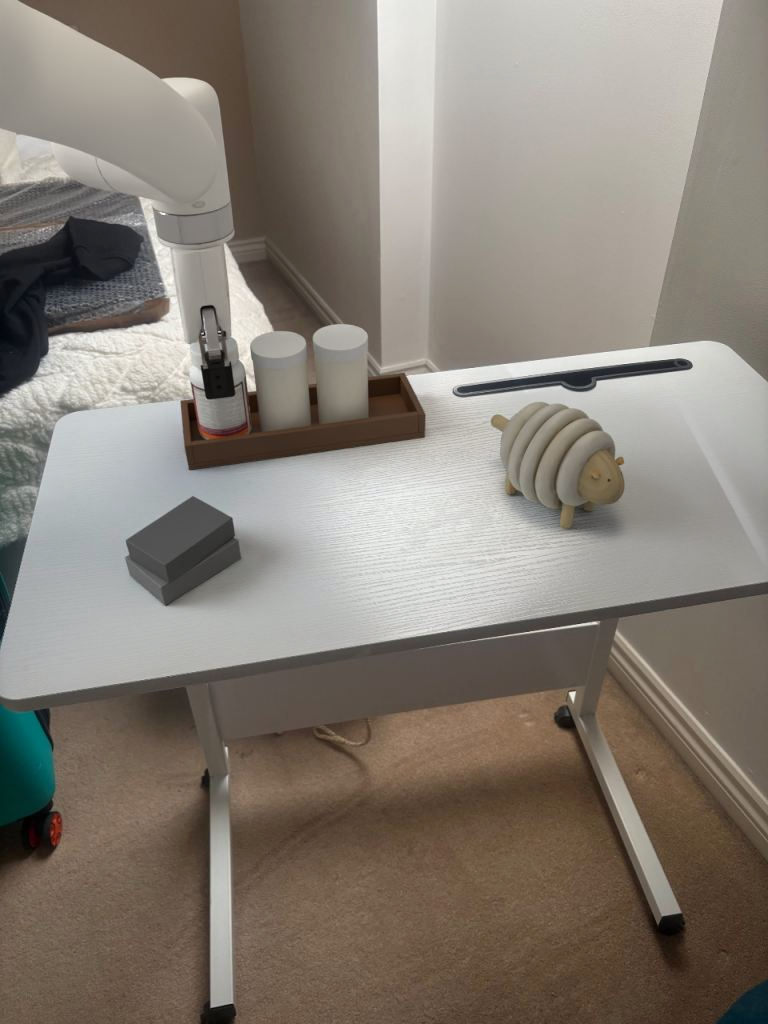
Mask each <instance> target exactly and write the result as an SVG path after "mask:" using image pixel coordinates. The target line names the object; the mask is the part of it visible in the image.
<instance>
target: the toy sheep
mask: <svg viewBox="0 0 768 1024" xmlns="http://www.w3.org/2000/svg"><path fill="white" fill-rule="evenodd" d="M490 425H491V426H492V428H495V429H496V430H498V431H500V432H502V433H501V437H500V442H499V443H500V447H499V458H500V463H501V464H502V466H503V468H504V469H505V470H506V477H505V484H504V493H506V494H507V495H509V496H510V495H511V496H512V495H515V494H516V493H517V491H518V492H520V493H522V495H523V496H524V498H525V499H526V500H528V501H529V502H531V503H534V504H541V505H543V506H544V507H546V508H548V509H553V510H554V509H555V510H556V509H557V510H558V509H561V510H560V511H561V512H560V516H559V517H560V519H559V526H560V527H561V528H562V529H564V530H566V529H570V528H572V526H573V521H574V515H575V510H576V507H578V506H582V509H583V510H584V511H586V512H593V510H594V509H595V507H596V505H597V504H598V505H603V506H604V505H606V506H607V505H612V504H615V503H617V502H618V501H619V500H620V499H621V498H622V496H623V495H624V491H625V478H624V474H623V472H622V470H621V467H620V466H622V465H624V463H625V459H624V457H623V456H618V457H617V458H616V444H615V441H614V439H613V437H612V436H611V435H610V434H609V433H608V432H606V431H604V429H603V427H602V426H601V424H600V422H598V421H597V420H595V419H593V418H590V417H589V416H588V414H587V413H586V412H585V411H583V410H581V409H579V408H571V407H568V406H567V405H565V404H563V403H551V404H549V403H547V402H545V401H535V402H532V403H529V404H527V405H525V406H524V407H522V408H521V409H519V411H518V412H517V413H515V414H514V415H513V416H511V418H510V419H509V418H507V417H505V416H503V415H502V414H495V415H493V416H492V417H491V418H490Z"/></svg>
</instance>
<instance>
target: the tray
mask: <svg viewBox="0 0 768 1024" xmlns="http://www.w3.org/2000/svg"><path fill="white" fill-rule="evenodd" d="M308 387H309V400H310V414H311V426H304V427H296V428H289V429H281V430H274V431H266V432H261V427H260V418H259V410H258V402H257V393H256V390H254V391H248V398H249V406H250V414H251V422H252V428H251V431H250V433H249V434H244V435H236V436H229V437H222V438H214V439H207V440H205V439H203V438H202V436H201V435H200V432H199V428H198V423H197V416H196V411H195V405H194V399H193V398H189V399H182V400H180V402H179V403H180V412H181V423H182V424H181V425H182V434H183V446H184V452H185V457H186V463H187V469H188V470H189V471H191V470H192V471H193V470H197V469H198V470H199V469H200V470H201V469H204V468H213V467H220V466H221V467H222V466H228V465H236V464H240V463H241V464H242V463H251V462H255V461H265V460H271V459H277V458H284V457H285V458H287V457H291V456H301V455H307V454H314V453H321V452H327V451H334V450H341V449H350V448H357V447H364V446H370V445H377V444H378V445H379V444H385V443H393V442H399V441H407V440H414V439H415V440H416V439H422V438H425V436H426V412H425V410H424V408H423V406H422V404H421V402H420V401H419V398H418V396H417V394H416V392H415V390H414V388H413V387H412V384H411V383H410V381H409V378H408V377H407V375H406V373H405V372H397V373H390V374H381V375H375V376H368V412H369V418H364V419H356V420H349V421H341V422H334V423H326V424H320V423H319V415H318V399H317V384H316V383H311V384H309V383H308Z"/></svg>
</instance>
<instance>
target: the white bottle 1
mask: <svg viewBox="0 0 768 1024" xmlns="http://www.w3.org/2000/svg"><path fill="white" fill-rule="evenodd" d="M306 340H307V339H305V338H304V337H303V336H302V335H301V334H299V333H296V332H293V331H289V330H288V331H286V330H276V331H275V330H274V331H269V332H265V333H262V334H259V335H258V336H255V338H253V339H252V340H251V342H250V345H249V350H250V358H251V361H252V365H253V366H252V367H253V374H254V375H253V377H254V386H255V391H256V393H257V402H258V410H259V418H260V427H261V432H266V431H274V430H281V429H289V428H296V427H304V426H311V414H310V400H309V387H308V385H309V376H308V374H309V373H308V362H307V361H308V360H307V357H308V347H307V341H306Z"/></svg>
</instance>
